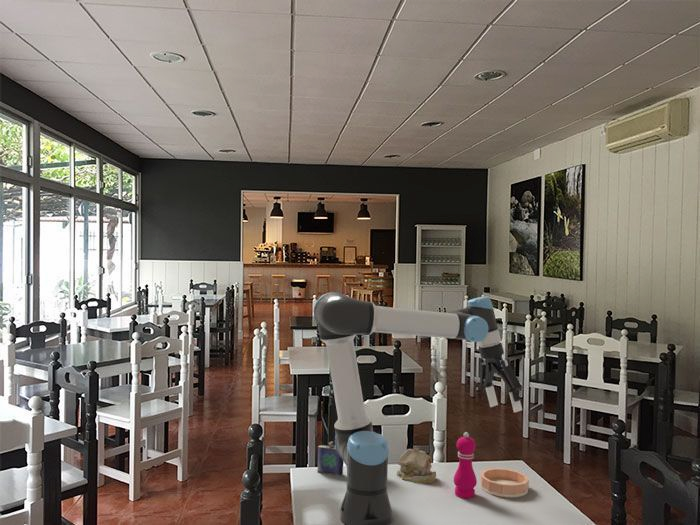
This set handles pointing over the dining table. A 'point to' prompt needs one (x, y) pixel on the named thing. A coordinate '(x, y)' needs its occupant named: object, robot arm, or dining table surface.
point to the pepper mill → (465, 468)
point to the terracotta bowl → (504, 482)
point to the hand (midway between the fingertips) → (505, 408)
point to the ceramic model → (416, 466)
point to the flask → (329, 460)
